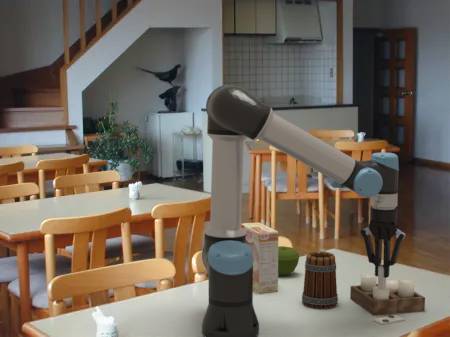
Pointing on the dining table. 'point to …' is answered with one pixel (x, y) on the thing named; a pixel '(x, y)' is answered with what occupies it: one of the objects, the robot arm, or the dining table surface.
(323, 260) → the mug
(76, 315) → the dining table surface
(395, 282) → the button
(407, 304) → the wooden compartment tray
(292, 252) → the apple
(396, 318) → the card
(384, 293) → the button
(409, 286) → the button
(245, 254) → the robot arm
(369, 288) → the button
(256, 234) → the coffeecake box
